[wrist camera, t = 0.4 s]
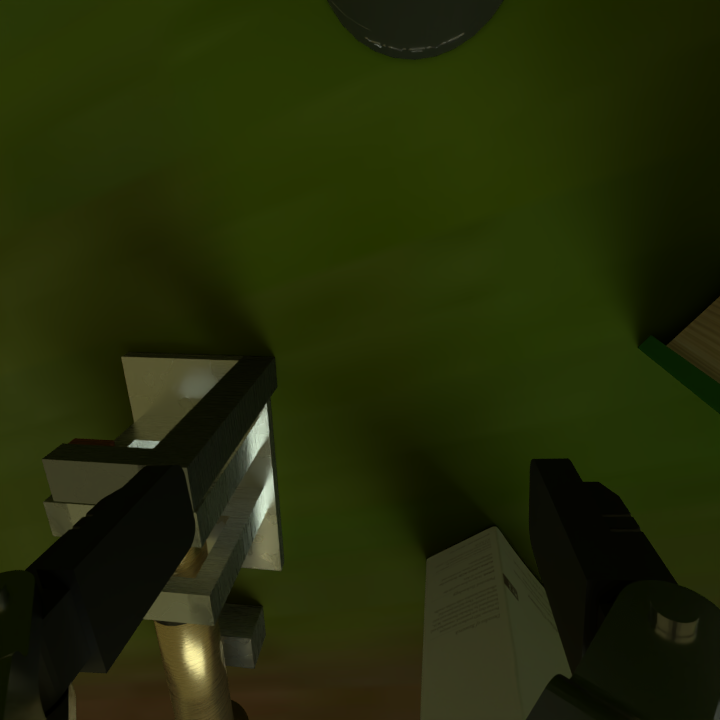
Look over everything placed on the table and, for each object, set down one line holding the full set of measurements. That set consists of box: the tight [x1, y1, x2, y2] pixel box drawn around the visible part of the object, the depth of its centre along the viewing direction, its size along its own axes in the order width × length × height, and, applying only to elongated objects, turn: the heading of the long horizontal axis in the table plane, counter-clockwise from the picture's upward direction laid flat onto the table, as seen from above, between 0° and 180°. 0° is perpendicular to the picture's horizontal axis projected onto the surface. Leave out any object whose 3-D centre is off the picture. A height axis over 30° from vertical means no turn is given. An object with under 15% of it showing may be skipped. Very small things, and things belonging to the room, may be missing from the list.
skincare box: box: [420, 527, 572, 720], centre depth 27 cm, size 8×6×15 cm
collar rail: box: [42, 352, 284, 668], centre depth 29 cm, size 24×10×12 cm, turn 1°
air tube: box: [154, 541, 249, 720], centre depth 31 cm, size 19×6×6 cm, turn 1°
